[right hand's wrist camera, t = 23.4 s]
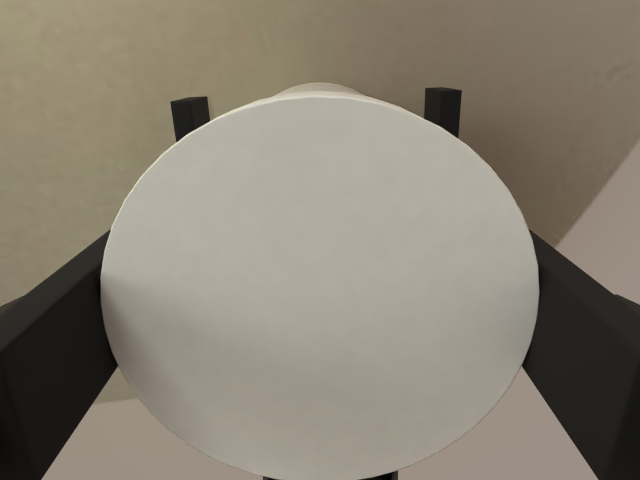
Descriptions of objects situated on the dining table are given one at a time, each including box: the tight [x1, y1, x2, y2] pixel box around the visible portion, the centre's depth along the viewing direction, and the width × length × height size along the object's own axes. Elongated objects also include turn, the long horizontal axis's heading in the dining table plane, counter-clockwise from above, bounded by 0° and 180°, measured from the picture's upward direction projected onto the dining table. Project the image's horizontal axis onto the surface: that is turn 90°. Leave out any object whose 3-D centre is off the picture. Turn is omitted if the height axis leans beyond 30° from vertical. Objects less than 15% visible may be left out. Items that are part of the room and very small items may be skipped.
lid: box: [101, 91, 540, 480], centre depth 11 cm, size 10×10×2 cm
